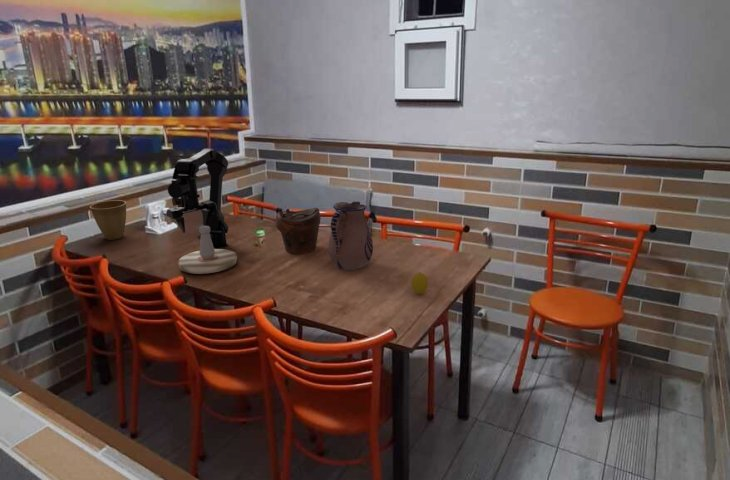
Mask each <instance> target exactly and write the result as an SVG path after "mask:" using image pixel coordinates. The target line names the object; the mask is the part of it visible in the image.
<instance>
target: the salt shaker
mask: <svg viewBox="0 0 730 480" xmlns="http://www.w3.org/2000/svg"><path fill="white" fill-rule="evenodd" d="M198 232H199V234H200V243H199V251H200V256H201V257H202V258H203V260H209V259H212V258H213V256H214V254H215V250H214V249H215V248H214V247H213V244H212V240H211V237H210V234H209V232H210V227H209V226H203V225H202V226H199V227H198Z"/></svg>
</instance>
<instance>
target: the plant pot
mask: <svg viewBox="0 0 730 480" xmlns="http://www.w3.org/2000/svg"><path fill="white" fill-rule="evenodd" d="M89 209H90V211H91V214H92V217H93V219H94V221H95V223H96V225H97V227H98V228H99V230H100V232H101V234H102V235H103V237H104V238H105V239H106V240H110V241H111V240H117V239H121V238H123V237H124V233H125V229H126V223H127V202H126V201H125V200H119V199H115V200H114V199H113V200H105V201H104V200H103V201H100V202H95V203H93V204H91V205H89Z"/></svg>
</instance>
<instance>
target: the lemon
mask: <svg viewBox="0 0 730 480" xmlns="http://www.w3.org/2000/svg"><path fill="white" fill-rule="evenodd" d="M428 286H429V282H428V278H427V276H426V275H425V274H424V273H422V272H418V273H416V274H414V275H413V277H412V278H411V289H412V290H413V292H414V293H416V294H418V295H421V294H423V293H426V291H427V289H428Z"/></svg>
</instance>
